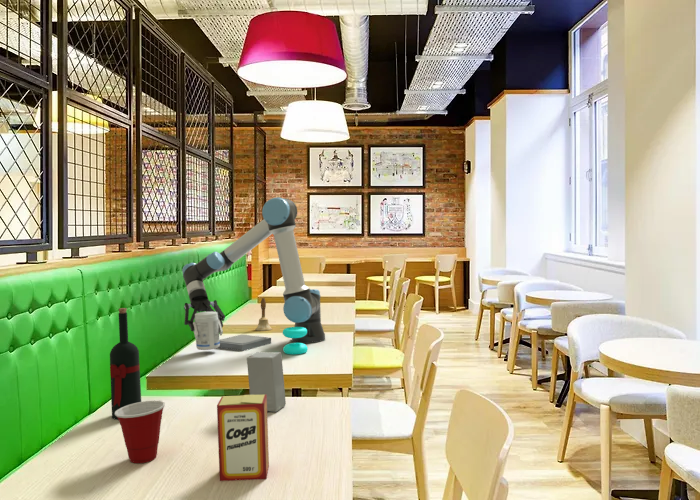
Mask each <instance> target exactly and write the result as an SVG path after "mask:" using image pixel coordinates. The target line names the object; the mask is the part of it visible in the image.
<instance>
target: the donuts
mask: <svg viewBox="0 0 700 500" xmlns="http://www.w3.org/2000/svg"><path fill="white" fill-rule="evenodd" d="M306 334H307V329H306V328H304V327H294V326H290V327H285V328H284V329H283V330H282V335H283V337H285V338H288V339H292V338H301V337H304V336H305V335H306ZM308 349H309V347H308V346H307V344H305V343H300V342H290V343H287V344H285V345H284V346H283V349H282V351H283V353H285V355H286V354H287V355H295V356H296V355H302V354H305V353H307V352H308Z"/></svg>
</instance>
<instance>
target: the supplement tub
mask: <svg viewBox="0 0 700 500" xmlns="http://www.w3.org/2000/svg"><path fill="white" fill-rule="evenodd" d="M194 322H195V324H196V327H197V331H198V338H197V339H196V338H195V345H196V349H197V350H201V351H211V350H215V349H219V348H218V347H219V346H220V334H219V323H218V313H217V312H216V311H215V312H206V311H204V312H203V311H201V312H197V313H196V314H195V318H194Z"/></svg>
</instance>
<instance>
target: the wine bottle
mask: <svg viewBox="0 0 700 500" xmlns="http://www.w3.org/2000/svg"><path fill="white" fill-rule="evenodd" d="M127 311H128V308H127V307H120V308H118V331H119V342H117V344H115V345H114V346H113V347H112V348H111V350H110V353H109V373H110V375H109V377H110V395H111V396H110V399H111V403H110V405H111V419H114V420H117V421H119V420H118V418H117V416H115V411H117V410H118V409H120V408H122V407H124V406H127V405H130V404H134V403H138V402H142V390H141V387H142V386H141V385H142V384H141V370H140V369H141V368H140V351H139V348H138V347H137V346H136V344H134V343H133V342H131V341H129V329H128V328H129V326H128V312H127Z"/></svg>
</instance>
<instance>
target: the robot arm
mask: <svg viewBox="0 0 700 500" xmlns="http://www.w3.org/2000/svg"><path fill="white" fill-rule="evenodd" d="M261 213H262V218H263V219H262V220H261V221H260V222H258V223H256V224H255V225H254V226H253V227H252V228H250V229H249V230H248V231H247V232H245V233H244V234H243V235H241V237H239V238H237V239H236V240H235V241H233V242H232V243H231V244H230V245H228V246H227V247H226V248H225V249H224V250H221V252H218V251H213V252H211V253H209V254H208V255H207V256H206V257H204V258H203V259H201V260H199V261H198V262H197V263H195V262H189V263H186V264H185V265H184V266H183V267H182V270H181V271H182V277H183V281H184V283H185V286H186V291H187V294H188V298H189V301H190V303H187V302H185V303H184V306H183V309H184V325H185V326H187V325H188V327H189V329H190V331H191V332H193V333H194V334H193V335H194V339H195V340H196V339H197V338H198V331H197V327H196V324H195V314H196V313H200V312H217V313H218V323H219V337H220V336H223V333H224V330H223V327H224V323H223V321H225V318H226V315H225V313H224V312H223V311H222V309H221V308H220V306H219V305H218V301H217V300H216V299H215V300H213V301H210V300H209V296H208V294H207V293H208V292H207V291H206V286H205V282H204V280H206V279H207V278H208V277H209V276H211V275H213V274H214V273H218V272H225V271H228V270H229V269H230V268H231V267H232V266H233V265H234V264H235V263H236V262H237V261H239V260H240V259H241V258H242V257H244V256H245V255H247V253H249V252H251V251H252V250H253V249H254V248H256V247H257V246H258V245H259V244H261V243H262V242H263V241H264V240H267V238H269V237H270V236H272V235H273V238H274V243H275V247H276V251H277V258H278V260H279V261H278V262H279V265H280V271H281V274H282V280H283V283H284V288H285V289H284V292H283V293H282V295H283V301H284V303H283V307H282V310H283V314H284V316H285V317H286V319H288V320H289V321H290V322H292V323H294V325H293V327H304V328H306V329H307V334H306V335H305V336H304V337H301V338H291V341H292V342H293V343H303V344H305V343H306V344H308V343H309V344H310V343H317V342H322V341H325V340H326V333H325V331H324V328H323V325H322V322H321V321H322V318H321V317H322V316H321V315H322V314H321V312H322V311H321V291H320V290H319V289H317V288H316V289H315V288H314V289H311V288H310V287H309V286H308V285H306V284H305V277H304V274H303V268H302V265H301V264H302V263H301V261H300V256H299V251H298V246H297V241H296V238H295V237H296V236H295V231H294V230H295V228H296V227H297V226H296V219H297V216H298V208H297V205H296V203H295V202H294V201H293V200H291V199H289V198H282V197H279V196H278V197H273V198H269V199H268V200H267V201H265V203H264V205H263V206H262V212H261ZM190 308H192V309H193V312H192V314H191V317H190V320H189V315H190V314H189V313H190Z"/></svg>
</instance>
